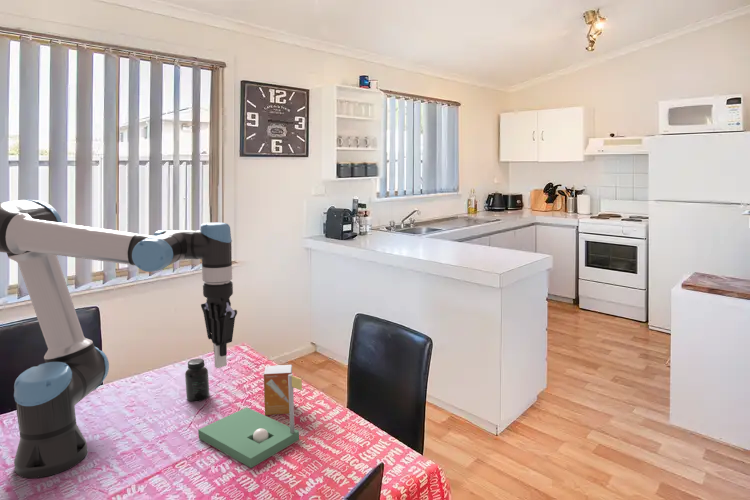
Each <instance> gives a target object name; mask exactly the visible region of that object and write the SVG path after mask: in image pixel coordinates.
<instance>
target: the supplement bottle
mask: <svg viewBox="0 0 750 500" xmlns="http://www.w3.org/2000/svg"><path fill="white" fill-rule="evenodd" d="M205 366H206V365H205V359H204V358H192V359H190V360H189V361H187V369H186V370H185V373H184V378H185V392H186V393H185V394H186V399H187V400H188V401H190V402H201V401H204V400H206V399H208V397H209V396H210V383H209V371H208V368H207V367H205Z"/></svg>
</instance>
